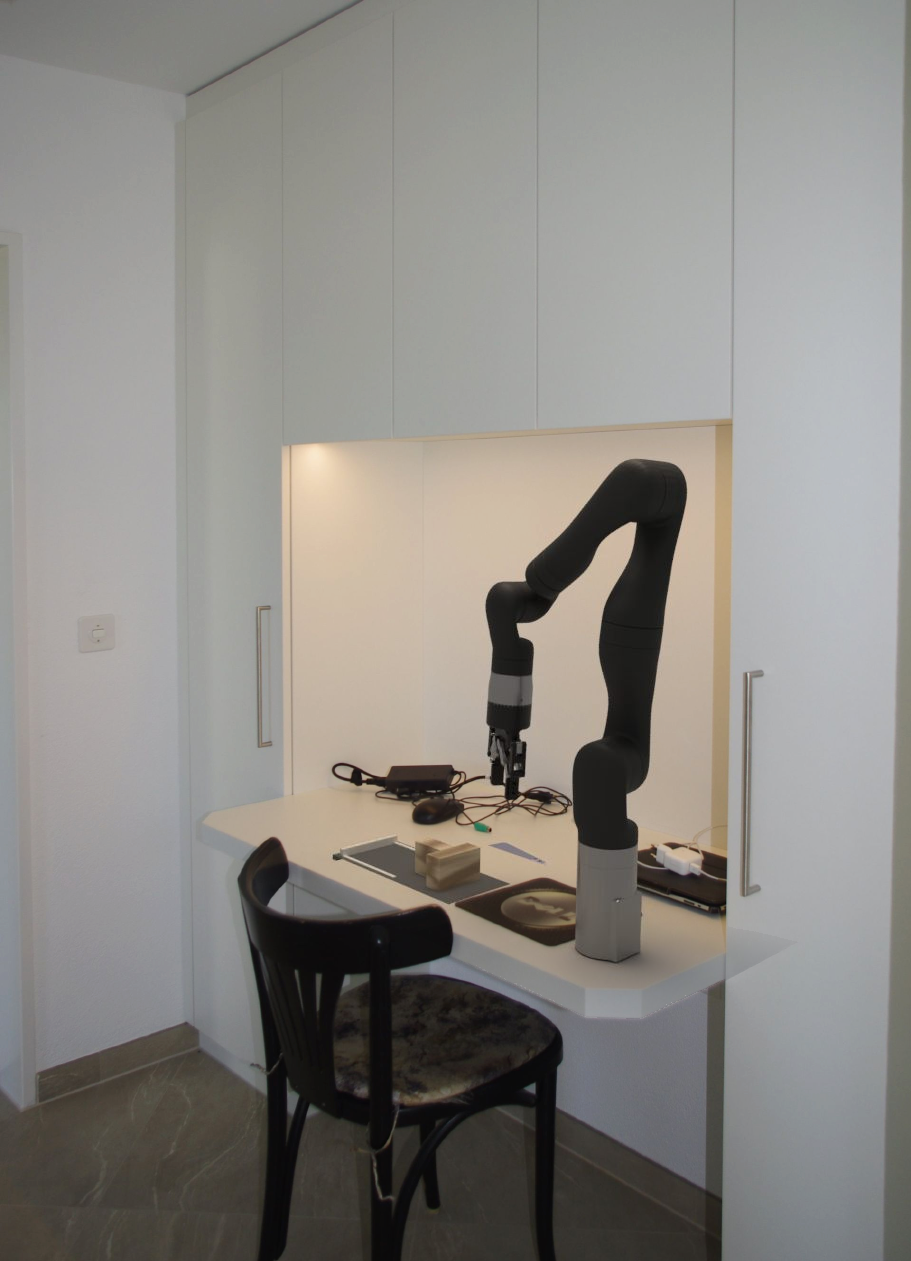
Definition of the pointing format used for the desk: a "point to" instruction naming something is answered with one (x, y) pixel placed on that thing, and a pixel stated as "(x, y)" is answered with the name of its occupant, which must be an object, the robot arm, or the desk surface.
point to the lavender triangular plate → (517, 852)
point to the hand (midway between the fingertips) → (503, 792)
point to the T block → (446, 863)
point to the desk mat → (408, 868)
